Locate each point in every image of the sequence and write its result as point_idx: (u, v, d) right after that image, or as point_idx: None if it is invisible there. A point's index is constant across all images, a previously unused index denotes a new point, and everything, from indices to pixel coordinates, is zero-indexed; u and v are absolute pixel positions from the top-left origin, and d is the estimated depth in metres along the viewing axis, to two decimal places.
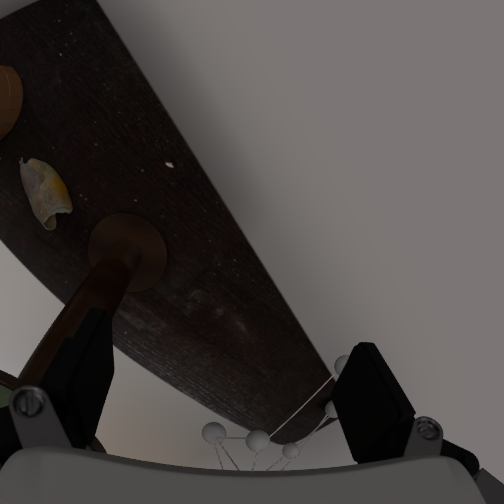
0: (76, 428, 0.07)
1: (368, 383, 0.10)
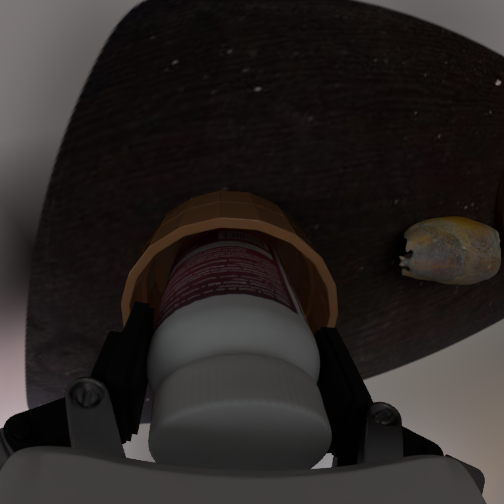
0: (127, 418, 0.08)
1: (326, 367, 0.10)
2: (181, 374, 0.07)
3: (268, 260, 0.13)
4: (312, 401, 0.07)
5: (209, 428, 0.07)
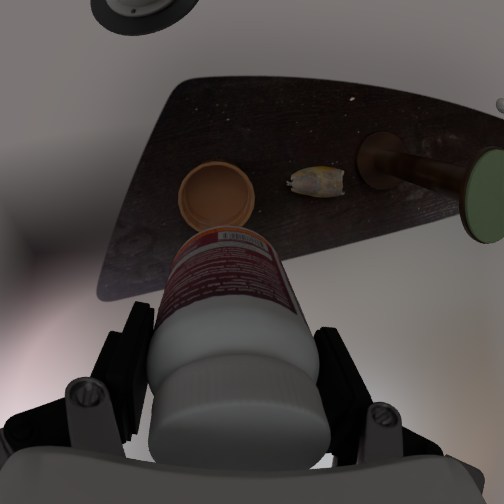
0: (127, 417, 0.08)
1: (326, 367, 0.10)
2: (180, 374, 0.08)
3: (267, 261, 0.13)
4: (310, 402, 0.07)
5: (208, 428, 0.07)
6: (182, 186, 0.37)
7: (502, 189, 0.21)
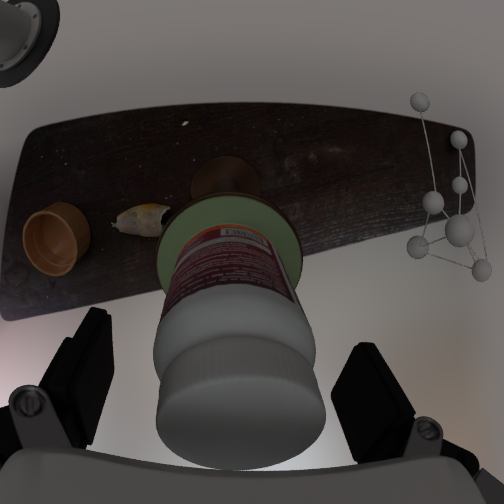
0: (76, 428, 0.07)
1: (368, 383, 0.10)
2: (187, 355, 0.08)
3: (267, 255, 0.14)
4: (306, 380, 0.08)
5: (212, 404, 0.07)
6: (24, 233, 0.35)
7: None
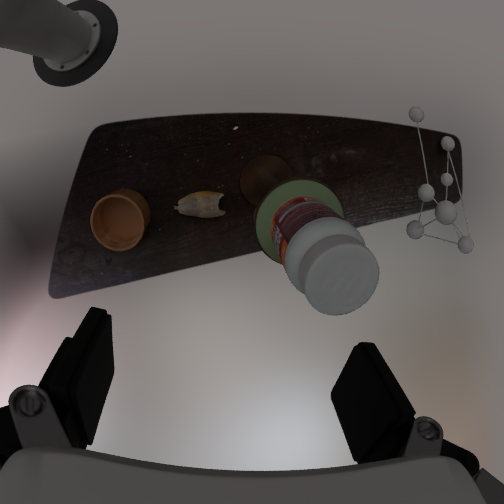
0: (76, 428, 0.07)
1: (368, 383, 0.10)
2: (319, 242, 0.19)
3: None
4: (371, 252, 0.19)
5: (336, 259, 0.18)
6: (92, 213, 0.46)
7: None
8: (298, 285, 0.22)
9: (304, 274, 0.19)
